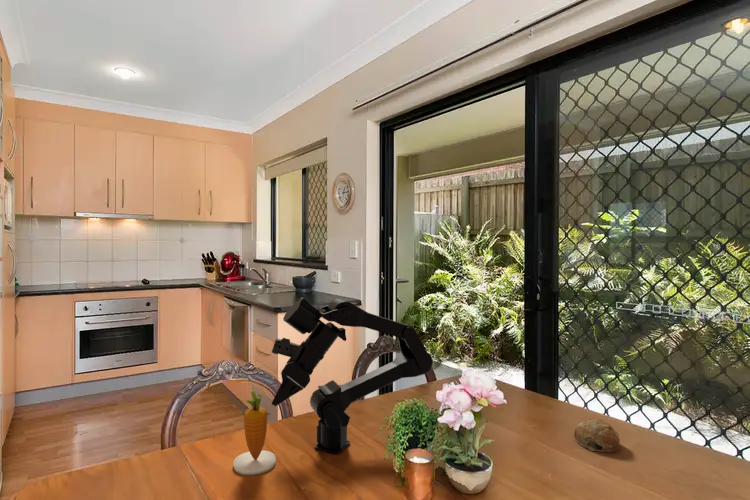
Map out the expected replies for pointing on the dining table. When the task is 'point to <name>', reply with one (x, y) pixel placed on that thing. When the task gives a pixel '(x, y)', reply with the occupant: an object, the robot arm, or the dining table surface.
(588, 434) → the bread roll
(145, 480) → the dining table surface
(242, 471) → the smooth white pebble
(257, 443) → the carrot
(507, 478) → the dining table surface
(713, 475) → the dining table surface
